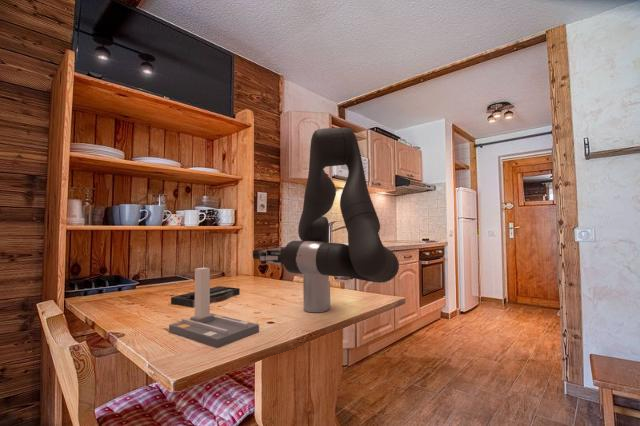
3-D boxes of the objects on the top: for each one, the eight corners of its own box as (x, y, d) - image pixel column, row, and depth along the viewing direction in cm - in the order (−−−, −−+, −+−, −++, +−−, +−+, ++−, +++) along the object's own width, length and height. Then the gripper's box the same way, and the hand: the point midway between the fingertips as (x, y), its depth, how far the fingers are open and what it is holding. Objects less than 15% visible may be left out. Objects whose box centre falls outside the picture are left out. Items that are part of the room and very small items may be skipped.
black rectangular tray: (218, 283, 144) (251, 286, 135) (218, 292, 144) (251, 296, 135) (170, 294, 122) (206, 298, 113) (170, 305, 122) (206, 310, 113)
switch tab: (205, 318, 94) (205, 267, 95) (213, 320, 92) (213, 267, 93) (190, 322, 90) (190, 269, 91) (198, 324, 88) (198, 269, 89)
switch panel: (211, 319, 100) (211, 310, 100) (259, 331, 87) (258, 320, 87) (169, 331, 88) (169, 321, 88) (217, 347, 76) (217, 335, 76)
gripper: (324, 239, 75) (272, 238, 85) (288, 242, 64) (234, 241, 74) (324, 270, 75) (272, 265, 85) (289, 279, 64) (234, 272, 74)
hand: (254, 254), depth 79 cm, fingers closed
